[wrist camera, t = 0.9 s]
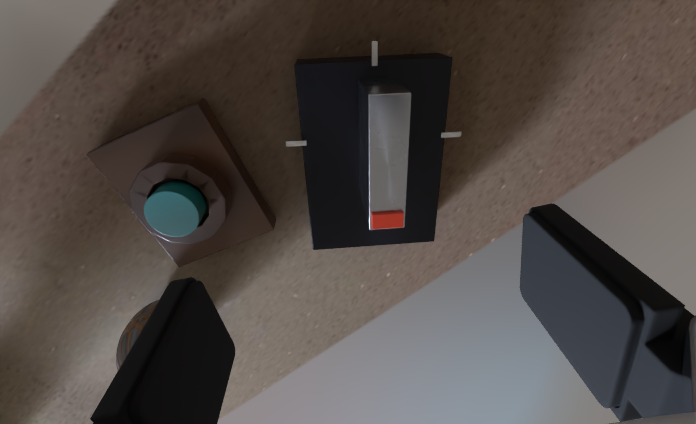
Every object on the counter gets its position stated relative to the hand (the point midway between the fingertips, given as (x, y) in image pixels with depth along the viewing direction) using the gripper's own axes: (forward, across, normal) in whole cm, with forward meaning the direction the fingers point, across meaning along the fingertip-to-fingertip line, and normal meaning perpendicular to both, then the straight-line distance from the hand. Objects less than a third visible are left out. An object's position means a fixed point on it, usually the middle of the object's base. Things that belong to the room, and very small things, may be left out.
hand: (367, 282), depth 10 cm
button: (+16, +12, +3) cm, 20 cm away
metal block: (+16, -2, +1) cm, 16 cm away
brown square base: (+19, +12, +2) cm, 23 cm away
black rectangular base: (+19, -2, +3) cm, 19 cm away
